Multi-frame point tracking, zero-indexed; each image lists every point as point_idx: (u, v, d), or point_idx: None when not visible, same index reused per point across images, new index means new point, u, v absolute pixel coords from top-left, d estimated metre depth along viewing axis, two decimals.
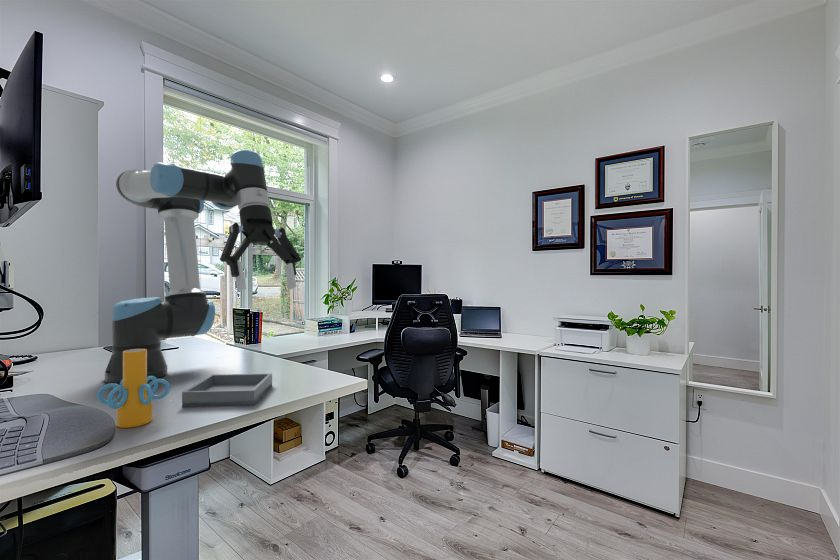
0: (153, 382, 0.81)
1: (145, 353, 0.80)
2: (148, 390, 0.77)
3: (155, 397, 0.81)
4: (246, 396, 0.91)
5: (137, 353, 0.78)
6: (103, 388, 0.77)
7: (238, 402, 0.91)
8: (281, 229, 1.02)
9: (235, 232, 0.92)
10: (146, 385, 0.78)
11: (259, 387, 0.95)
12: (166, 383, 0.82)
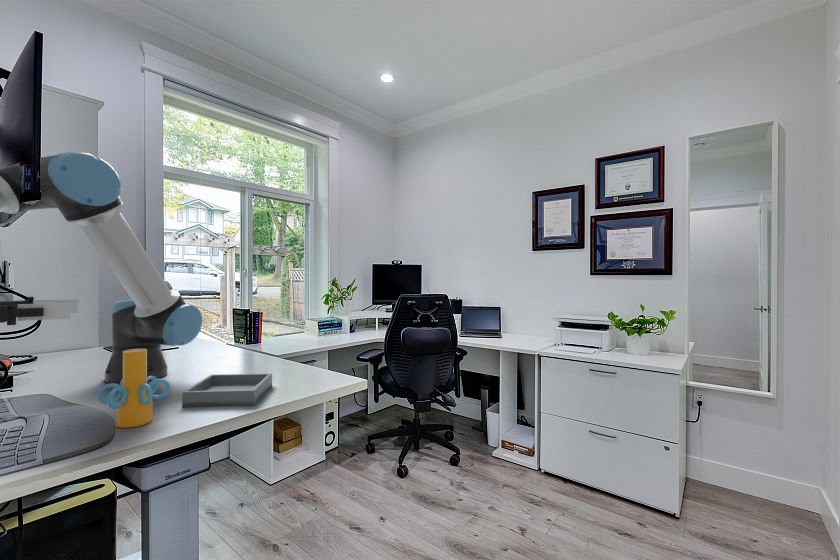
0: (153, 382, 0.81)
1: (145, 353, 0.80)
2: (148, 390, 0.77)
3: (155, 397, 0.81)
4: (246, 396, 0.91)
5: (137, 353, 0.78)
6: (103, 388, 0.77)
7: (238, 402, 0.91)
8: None
9: None
10: (146, 385, 0.78)
11: (259, 387, 0.95)
12: (166, 383, 0.82)
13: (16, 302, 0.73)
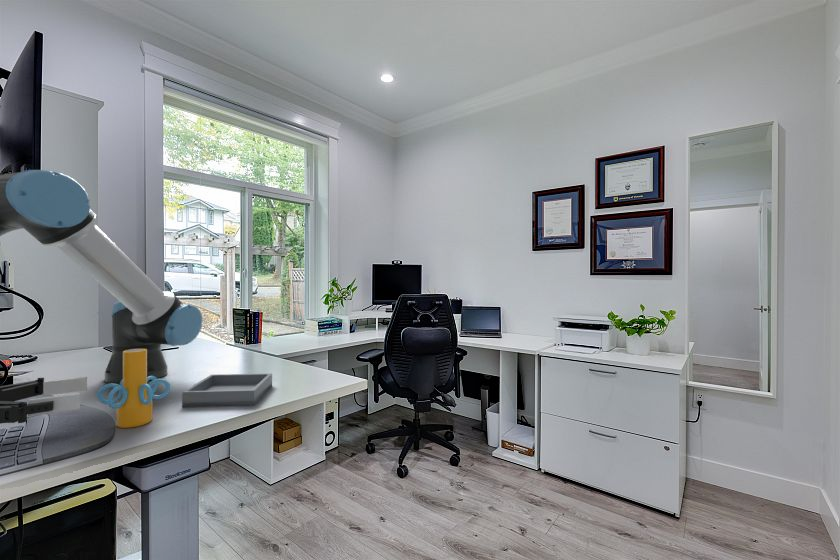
0: (153, 382, 0.81)
1: (145, 353, 0.80)
2: (148, 390, 0.77)
3: (155, 397, 0.81)
4: (246, 396, 0.91)
5: (137, 353, 0.78)
6: (103, 388, 0.77)
7: (238, 402, 0.91)
8: None
9: None
10: (146, 385, 0.78)
11: (259, 387, 0.95)
12: (166, 383, 0.82)
13: (27, 386, 0.74)
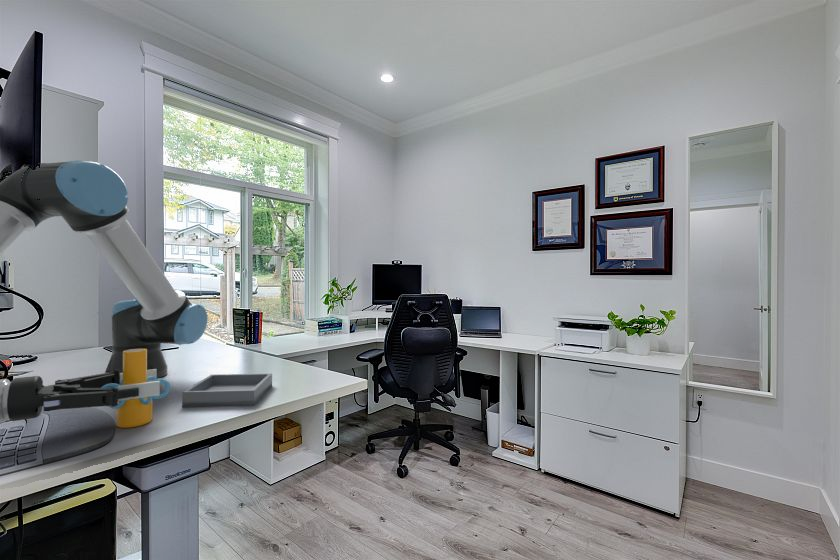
0: None
1: (145, 353, 0.80)
2: None
3: (155, 397, 0.81)
4: (246, 396, 0.91)
5: (137, 353, 0.79)
6: None
7: (238, 402, 0.91)
8: None
9: None
10: None
11: (259, 387, 0.95)
12: (166, 383, 0.82)
13: (105, 377, 0.81)
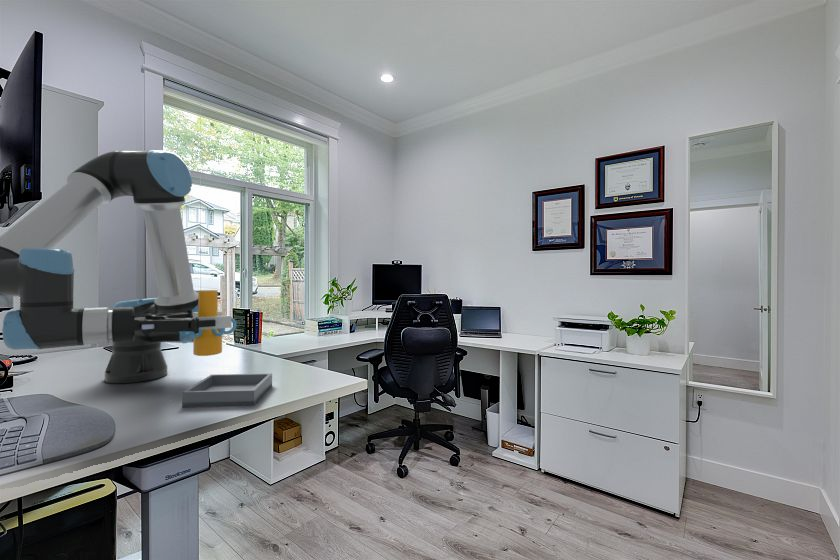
0: None
1: (216, 293, 0.92)
2: None
3: (224, 332, 0.93)
4: (246, 396, 0.91)
5: (211, 292, 0.90)
6: None
7: (238, 402, 0.91)
8: None
9: None
10: None
11: (259, 387, 0.95)
12: (233, 320, 0.94)
13: (181, 314, 0.93)
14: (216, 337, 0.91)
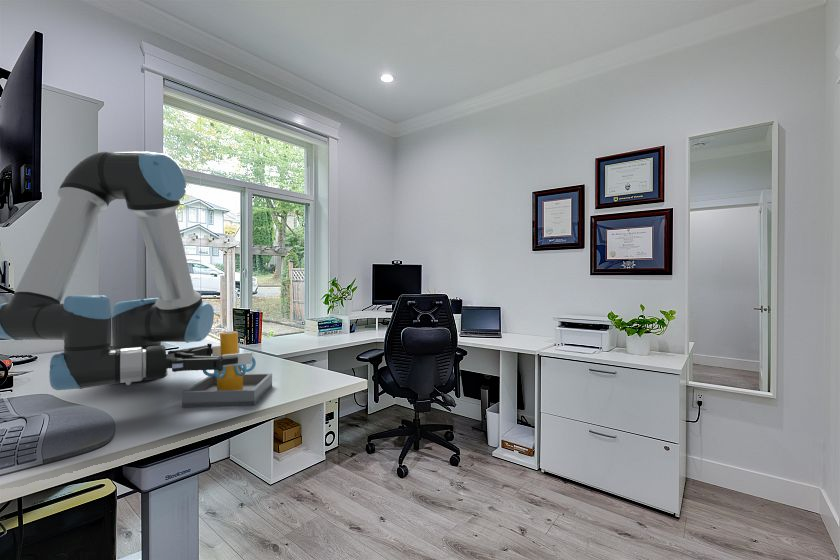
0: None
1: (237, 334, 0.98)
2: None
3: None
4: (246, 396, 0.91)
5: (232, 334, 0.97)
6: None
7: (238, 402, 0.91)
8: None
9: None
10: None
11: (259, 387, 0.95)
12: (253, 359, 1.01)
13: (203, 349, 1.00)
14: (238, 376, 0.97)
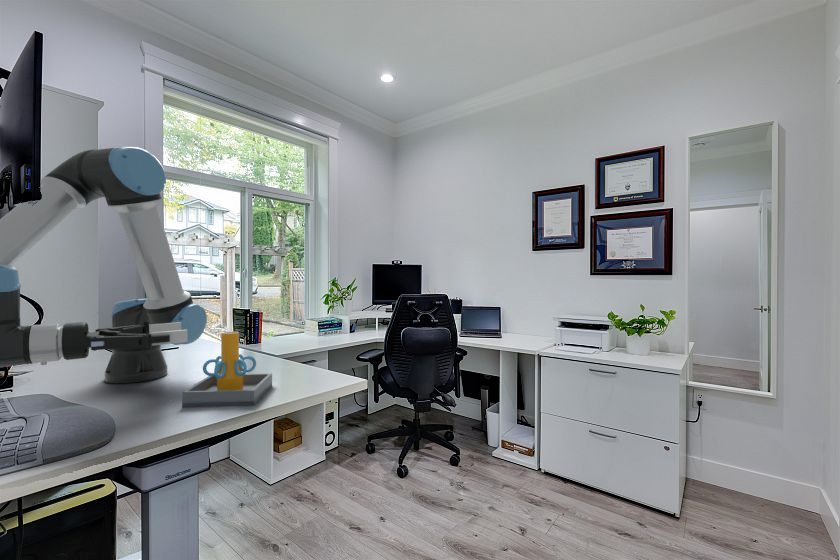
0: (244, 358, 1.00)
1: (238, 335, 0.99)
2: (243, 364, 0.96)
3: (245, 371, 1.00)
4: (246, 396, 0.91)
5: (233, 334, 0.97)
6: (207, 363, 0.96)
7: (238, 402, 0.91)
8: None
9: None
10: (241, 360, 0.96)
11: (259, 387, 0.95)
12: (253, 359, 1.01)
13: (138, 327, 0.91)
14: (238, 376, 0.97)
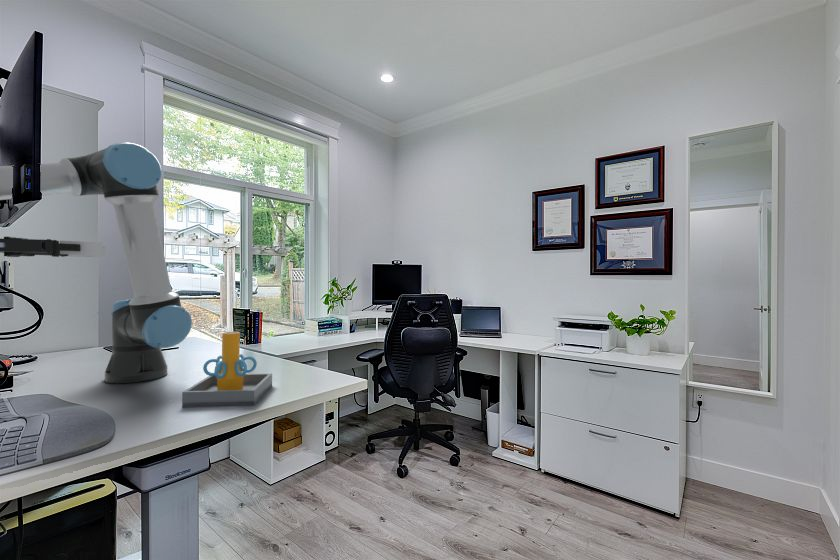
0: (244, 359, 1.00)
1: (239, 335, 0.99)
2: (244, 364, 0.96)
3: None
4: (246, 396, 0.91)
5: (234, 335, 0.97)
6: (208, 362, 0.96)
7: (238, 402, 0.91)
8: None
9: None
10: (242, 360, 0.96)
11: (259, 387, 0.95)
12: (254, 360, 1.01)
13: None
14: (238, 377, 0.97)
